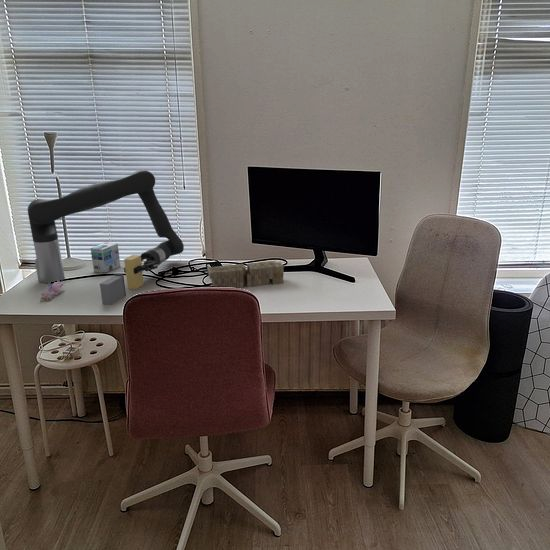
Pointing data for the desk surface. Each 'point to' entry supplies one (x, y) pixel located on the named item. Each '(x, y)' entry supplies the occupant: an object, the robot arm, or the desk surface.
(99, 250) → the light bulb box
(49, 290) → the rabbit figure
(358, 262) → the desk surface
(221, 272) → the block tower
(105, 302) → the blue-grey block
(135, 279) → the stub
